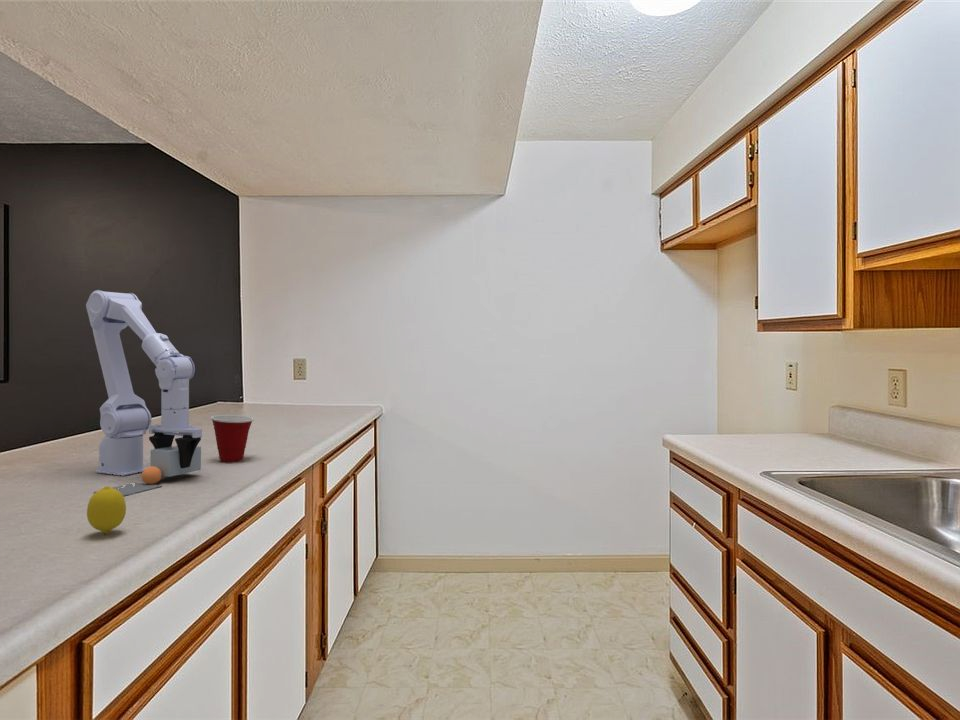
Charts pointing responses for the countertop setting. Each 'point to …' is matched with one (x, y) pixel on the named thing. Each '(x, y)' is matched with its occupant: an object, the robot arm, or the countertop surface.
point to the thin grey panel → (134, 488)
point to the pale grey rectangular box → (173, 461)
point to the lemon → (106, 509)
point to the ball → (151, 475)
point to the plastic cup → (231, 436)
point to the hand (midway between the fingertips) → (174, 466)
